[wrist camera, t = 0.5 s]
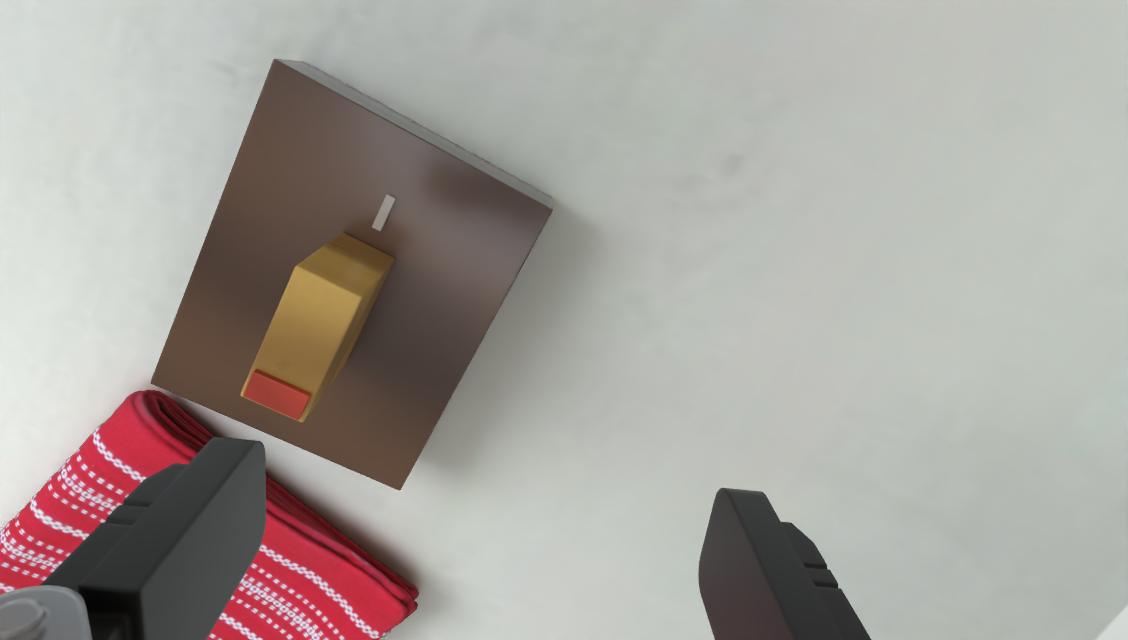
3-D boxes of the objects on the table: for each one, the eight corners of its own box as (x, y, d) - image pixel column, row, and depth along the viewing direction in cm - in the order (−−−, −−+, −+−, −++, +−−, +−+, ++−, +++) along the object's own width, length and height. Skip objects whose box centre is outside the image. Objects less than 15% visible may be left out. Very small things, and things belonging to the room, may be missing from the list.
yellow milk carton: (342, 230, 25) (292, 267, 20) (395, 258, 25) (360, 300, 20) (293, 340, 26) (235, 399, 21) (345, 364, 27) (300, 427, 22)
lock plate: (302, 61, 26) (271, 57, 23) (552, 196, 28) (553, 210, 25) (187, 355, 30) (147, 385, 27) (412, 455, 32) (399, 493, 29)
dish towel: (436, 583, 34) (428, 622, 32) (163, 812, 39) (137, 862, 37) (155, 365, 30) (120, 391, 27) (-113, 655, 35) (-164, 699, 32)
